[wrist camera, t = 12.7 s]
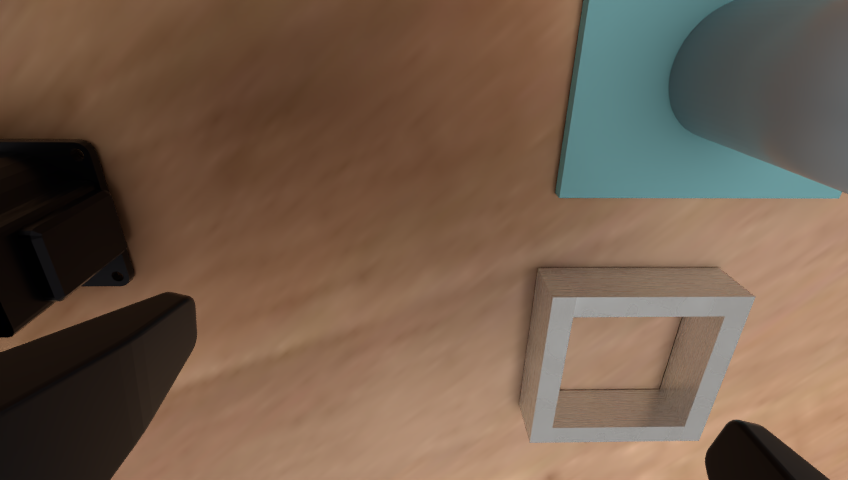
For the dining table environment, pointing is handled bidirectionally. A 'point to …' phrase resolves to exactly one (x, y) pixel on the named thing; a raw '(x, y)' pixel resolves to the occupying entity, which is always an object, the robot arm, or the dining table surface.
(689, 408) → the collar
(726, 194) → the mat
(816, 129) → the ball
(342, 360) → the dining table surface
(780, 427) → the dining table surface
